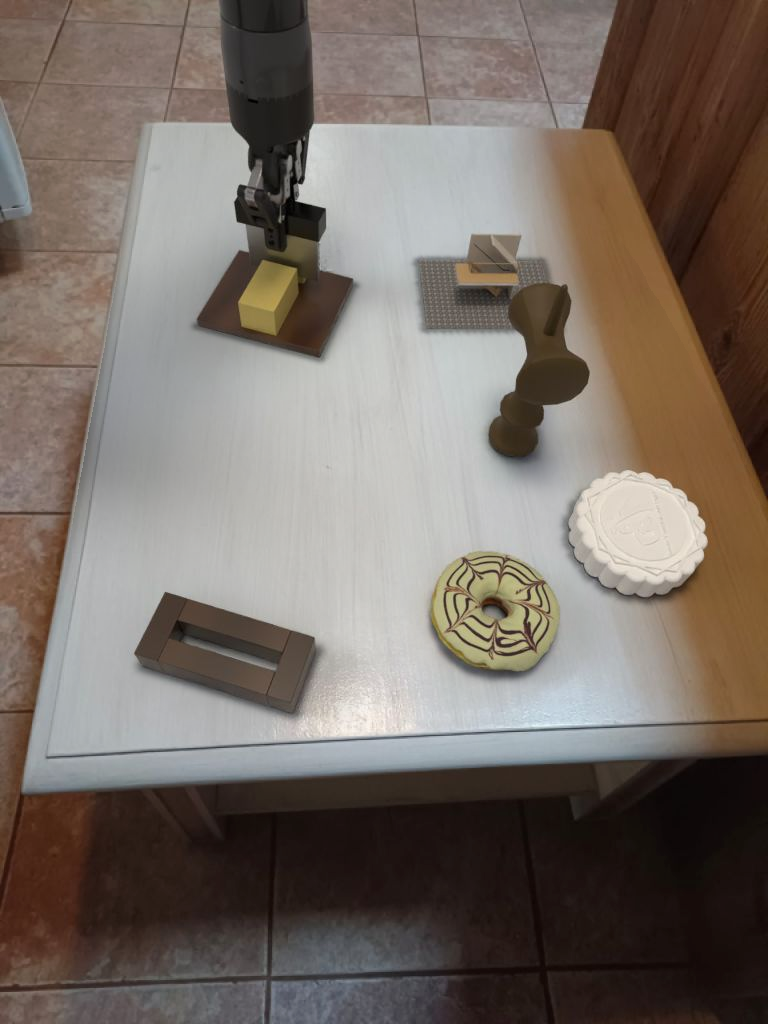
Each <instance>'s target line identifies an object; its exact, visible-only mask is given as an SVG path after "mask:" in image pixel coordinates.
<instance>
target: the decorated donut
mask: <svg viewBox="0 0 768 1024" xmlns="http://www.w3.org/2000/svg"><path fill="white" fill-rule="evenodd" d="M430 604H431V605H430V618H431V622H432V625H433V627H434V629H435V630H436V632H437V635H438V638H439V639H440V641H441V642H442V643H443V644H444V646H445V647H446V648H448V650H450V651H451V652H452V654H454V655H455V656H456V657H457V658H459V659H460V660H462V661H463V662H465V663H466V664H468V665H470V666H471V667H475V668H479V669H482V670H490V671H512V672H525V671H528V670H529V669H531V668H532V667H534V666H535V665H536V664H537V663H538V662H539V661H540V660H541V658H542V657H543V656H544V655H545V654H546V653H547V652H548V651H549V649H550V647H551V645H552V644H553V641H554V640H555V638H556V635H557V633H558V629H559V623H560V620H561V619H560V618H561V608H560V604H559V600H558V599H557V595H556V594H555V592H554V591H553V589H552V588H551V586H550V584H549V583H548V582H547V581H546V580H545V578H544V577H543V576H542V574H540V573H539V571H537V570H536V569H535V568H534V567H533V566H531V565H529V564H528V563H526V562H525V561H523V560H521V559H520V558H517V557H515V556H513V555H510V554H507V553H501V552H497V551H489V550H488V551H486V550H485V551H484V550H483V551H482V550H479V551H478V550H477V551H473V552H469V553H468V554H466V555H463V556H461V557H458V558H456V559H455V560H453V561H452V562H451V563H449V564H448V565H446V567H445V568H444V570H443V571H442V572H441V574H440V575H439V577H438V579H437V582H436V583H435V587H434V591H433V593H432V597H431V602H430ZM489 604H492V605H496V606H499V607H500V608H502V609H503V611H504V612H505V614H506V617H503V618H499V619H496V618H494V617H492V616H488V615H486V614H485V613H484V611H483V607H484V605H489Z"/></svg>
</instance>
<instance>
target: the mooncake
mask: <svg viewBox="0 0 768 1024" xmlns="http://www.w3.org/2000/svg"><path fill="white" fill-rule="evenodd" d="M699 514H700V513H699V508H698V506H697V505H696V504H695V503H694V502H692V501H690V500H688V496H687V494H686V492H685V491H683V490H682V489H680V488H675V487H673V485H672V483H671V482H670V481H669V480H667V479H665V478H657V477H656V476H654V475H653V474H652V473H649V472H644V471H643V472H639V473H637V472H635V471H634V470H629V469H625V470H622V471H621V472H620V473H618V472H614V471H611V472H610V471H609V472H607V473H605V475H604V476H603V477H602V478H600V477H599V478H594V479H593V480H592V481H591V482H590V483H589V486H588V488H585V489H583V490H582V492H581V493H580V495H579V497H578V499H577V500H576V502H575V504H574V506H573V510H572V514H571V516H570V517H569V519H568V528H569V530H570V532H569V533H568V541H569V543H570V544H571V546H572V547H574V550H573V555H574V557H575V559H576V560H577V561H579V562H580V563H582V564H583V567H584V570H585V572H586V573H587V574H588V575H589V576H591V577H593V578H598V581H599V582H600V583H601V585H602V586H603V587H606V588H608V589H614V588H615V589H616V590H617V591H618V592H619V593H621V594H622V595H625V596H631V595H634V594H636V595H637V596H639V597H642V598H649V597H651V596H653V595H654V594H656V595H661V596H662V595H666V594H668V593H669V592H670V591H671V590H672V589H673V588H678V587H681V586H682V585H683V584H684V583H685V582H686V581H687V579H689V578H690V576H691V575H692V574H694V572H695V570H696V568H697V567H698V566H699V565H700V564H701V563H702V562H703V560H704V558H705V553H704V550H705V549H706V548H707V546H708V543H709V542H708V537H707V536H706V534H705V531H706V528H707V527H706V525H707V524H706V523H705V522H706V521H704V519H703V518H702V517H701V516H699Z"/></svg>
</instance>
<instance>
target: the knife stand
mask: <svg viewBox="0 0 768 1024" xmlns="http://www.w3.org/2000/svg"><path fill="white" fill-rule="evenodd" d="M184 635H187V636H190V637H193V638H197V639H200V640H202V641H206V642H209V643H213V644H216V645H219V646H221V647H222V646H223V647H226V648H229V649H232V650H235V651H239V652H241V653H245V654H248V655H252V656H255V657H258V658H261V659H265V660H267V661H271V662H274V663H278V664H277V666H276V669H275V670H272V669H269V668H266V667H263V666H260V665H257V664H253V663H250V662H247V661H244V660H240V659H238V658H234V657H231V656H229V655H224V654H222V653H218V652H215V651H211V650H209V649H205V648H202V647H199V646H195V645H192V644H189V643H186V642H182V641H181V640H182V638H183V636H184ZM316 649H317V648H316V637H315V636H312V635H309V634H305V633H303V632H300V631H296V630H293V629H292V630H291V629H289V628H286V627H283V626H279V625H275V624H272V623H269V622H266V621H263V620H260V619H257V618H253V617H249V616H246V615H243V614H240V613H236V612H233V611H230V610H228V609H227V610H226V609H223V608H221V607H217V606H213V605H211V604H207V603H203V602H200V601H196V600H194V599H190V598H188V597H184V596H181V595H178V594H174V593H171V592H167V591H164V593H163V595H162V597H161V599H160V600H159V603H158V605H157V607H156V609H155V610H154V613H153V615H152V617H151V619H150V621H149V623H148V625H147V626H146V629H145V631H144V632H143V634H142V636H141V638H140V641H139V642H138V644H137V647H136V649H135V650H134V652H133V654H134V656H135V657H136V659H137V660H138V662H139V664H140V665H141V666H142V667H143V668H147V669H149V670H153V671H156V672H159V673H163V674H164V675H165V674H166V675H168V676H171V677H175V678H178V679H181V680H185V681H188V682H191V683H193V684H197V685H200V686H203V687H207V688H209V689H213V690H216V691H219V692H223V693H225V694H228V695H233V696H234V697H235V696H236V697H238V698H242V699H245V700H248V701H251V702H253V703H257V704H261V705H264V706H267V707H271V708H272V709H276V710H280V711H282V712H286V713H289V714H294V711H295V708H296V706H297V703H298V700H299V697H300V695H301V692H302V689H303V686H304V684H305V681H306V678H307V676H308V673H309V670H310V668H311V665H312V662H313V659H314V656H315V653H316Z"/></svg>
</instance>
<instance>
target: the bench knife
mask: <svg viewBox="0 0 768 1024" xmlns="http://www.w3.org/2000/svg"><path fill="white" fill-rule="evenodd" d="M271 203H272V205H273V207H274V209H276V203H275V202H272V201H271ZM233 205H234V212H235V213H234V214H235V220H236V223H238V224H243V225H245V231H246V239H247V246H248V247H247V248H248V252H249V256H250V264H251V265H255V266H260V264H261V262H262V260H265V261H269V262H273V263H277V264H281V265H285V266H289V267H293V268H297V273H298V277H302V278H306V279H310V280H314V281H319V280H320V270H321V267H320V265H321V264H320V241H321V239H322V237H323V236H324V233H325V232H326V230H327V208H326V207H322V206H319V205H315V204H309V203H306V202H303V201H302V202H301V201H298V200H297V201H294V200H289V199H287V200H286V202H285V219H286V233H287V248H286V250H285V251H284V252H278V251H274V250H270V249H268V248H267V247H266V246H265V237H264V227H263V226H260V225H254V224H251V222H250V220H249V218H248V216H247V214H246V212H245V210H244V209H243V207H242V205H241V203H240V201H239V199H238V197H237V196H236V198H235V200H233Z"/></svg>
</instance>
